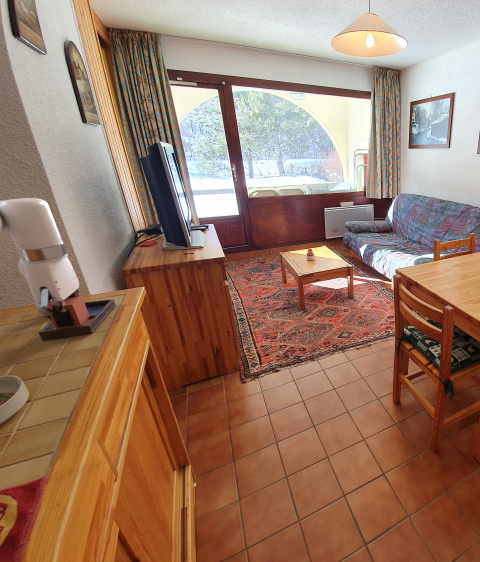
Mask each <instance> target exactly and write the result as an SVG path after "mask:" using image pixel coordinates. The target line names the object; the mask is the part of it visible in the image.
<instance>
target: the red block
mask: <svg viewBox="0 0 480 562" xmlns="http://www.w3.org/2000/svg"><path fill="white" fill-rule="evenodd" d="M79 296H80V297H71V298H66V299H64V300H65V305H66V309H67V311H68V310H69V311H70V313H71V316H72V318H73V321H74V323H75V324H74V325H72V326H65V327H58V326H57V324H56V322H55V320H54V318H53V315H52V314H50V313H49V314H50V316H49V317H50V318H51V321H53V323H54V325H55V328H56V329H59V328H66V327H74V326H81V325H82V324H83V323H84V322H85V321H86V320H87V319H88V318H89V317H90V316H89V313H88V311H87V308H86V305H85V303H84V302H85V300H84V298H83V296H82V295H79ZM54 305H57V306H59V307H60V304H59V303H54ZM48 312H49V311H48Z"/></svg>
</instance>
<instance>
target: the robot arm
mask: <svg viewBox="0 0 480 562" xmlns="http://www.w3.org/2000/svg"><path fill="white" fill-rule="evenodd" d="M2 232H9V235H10V236H11V239H12V241H13V243H14V244H15V247H16V250H17V252H18V253H19V256H20V259H21V258H22V261H23V263H25V264H24V269H25V274H26V278H27V280H26V282H27V281H28V282H27V284H28V286H29V289H30V292H31V295H32V297H33V299H34V302H35V301H36V303H38V304H41V309H44V310H47V311H49V313H50V314H52V315H53V318H54V320H55V322H56V324H57V326H58V327H65V326H72V325H74V324H75V323H74V321H73V318H72V316H71V313H70V311H69V310H68V311H67V309H66V305H65V300H64V299H66V298H71V297H80V296H81V295H80V294H79V292H80V291H79V287H80V282H79V278H78V275H77V274H76V272H75V269H74V267H73V265H72V263H71V261H70V259H69V258H68V252H67V249H66V247H65V244H64V242H63V239H62V237H61V234H60V231H59V229H58V227H57V224H56V221H55V219H54V216H53V214H52V210H51V209H50V206H49V204H48V202H47V201H46V200H44V199H42V198H38V197H22V198H20V197H19V198H11V199H5V200H0V233H2ZM52 298H56V299H57V300H52ZM54 303H59V304H60V307H59V306H57V305H54Z"/></svg>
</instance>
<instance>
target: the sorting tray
mask: <svg viewBox="0 0 480 562" xmlns="http://www.w3.org/2000/svg"><path fill="white" fill-rule="evenodd" d="M84 303H85V305H86V308H87V311H88V313H89V316H90V317H89V318H88V319H87V320H86V321H85V322H84V323H83V324H82V325H81V326H74V327H66V328H59V329H56V328H55V325H54V323H53V321H52V320H51V321H50V322H48V323H46V325H45V326H44V327H43V328H41V329H40V330H39V331H38V332H37V333H38V335H39V337H40V339H41V341H42V342H43V341H49V340H57V339H64V338H70V337H78V336H84V335H85V336H86V335H92V334H93V333H94V332H96V330H97V329H98V328H99V327H100V325H101V324H102V323H103V322H104V321H105V319H107V317H108V316H109V315H110V314H111V313H112V311H113V310H114V309H116V307H117V304H116V302H115V299H114V298H110V299H101V300H92V301H84Z"/></svg>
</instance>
